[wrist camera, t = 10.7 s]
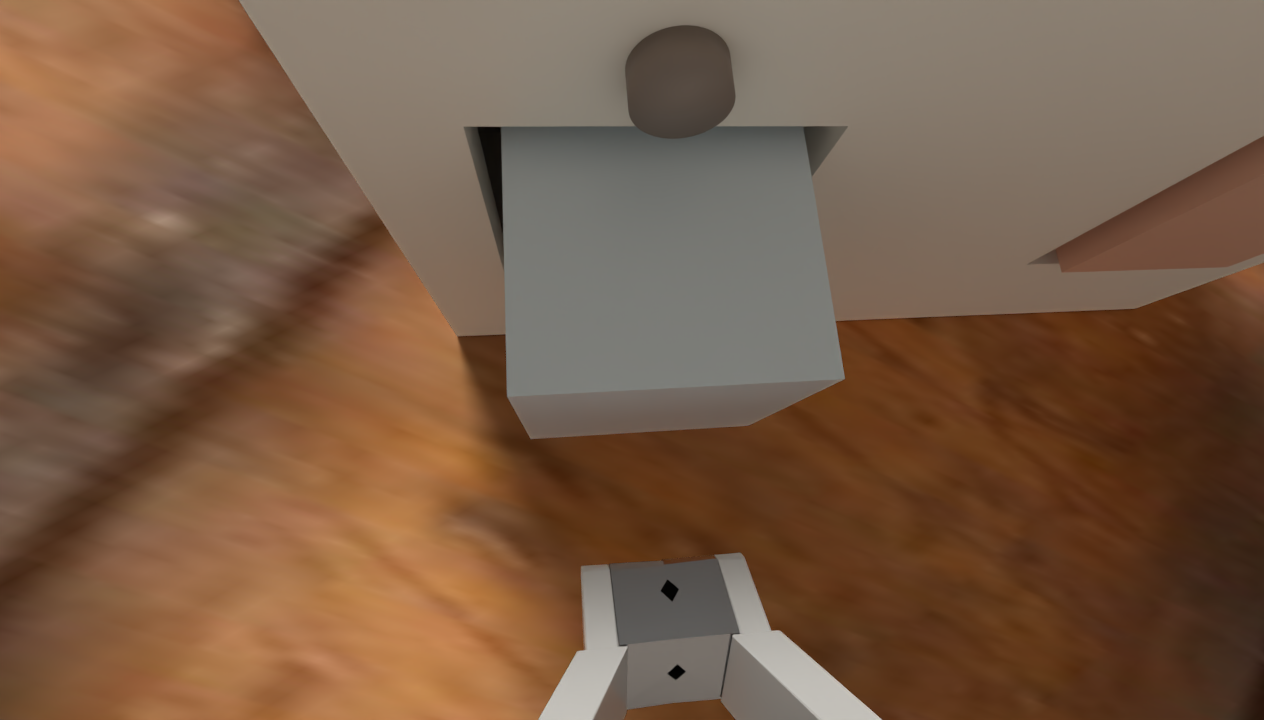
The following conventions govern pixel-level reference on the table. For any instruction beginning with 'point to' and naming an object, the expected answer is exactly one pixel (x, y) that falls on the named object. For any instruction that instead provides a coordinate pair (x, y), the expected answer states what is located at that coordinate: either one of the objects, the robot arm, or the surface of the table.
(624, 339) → the button one
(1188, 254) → the button two
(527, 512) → the table surface
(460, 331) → the block
